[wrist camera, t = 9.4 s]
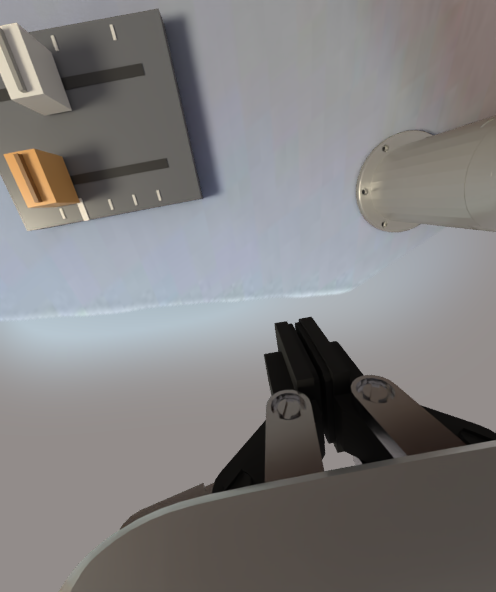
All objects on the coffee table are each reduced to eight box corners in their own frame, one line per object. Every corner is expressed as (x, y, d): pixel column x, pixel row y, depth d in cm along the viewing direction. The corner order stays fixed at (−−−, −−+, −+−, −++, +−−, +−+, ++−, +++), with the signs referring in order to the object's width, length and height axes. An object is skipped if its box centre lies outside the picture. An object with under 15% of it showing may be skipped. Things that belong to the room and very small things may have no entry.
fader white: (51, 52, 26) (11, 18, 21) (72, 110, 27) (39, 91, 23) (21, 57, 26) (-26, 24, 21) (44, 115, 27) (5, 97, 23)
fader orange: (62, 156, 29) (29, 147, 24) (80, 202, 31) (52, 202, 26) (36, 161, 29) (-2, 153, 24) (55, 207, 31) (23, 208, 26)
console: (164, 24, 28) (158, 7, 25) (203, 199, 34) (201, 198, 32) (-36, 61, 28) (-61, 47, 25) (41, 229, 34) (26, 232, 32)
